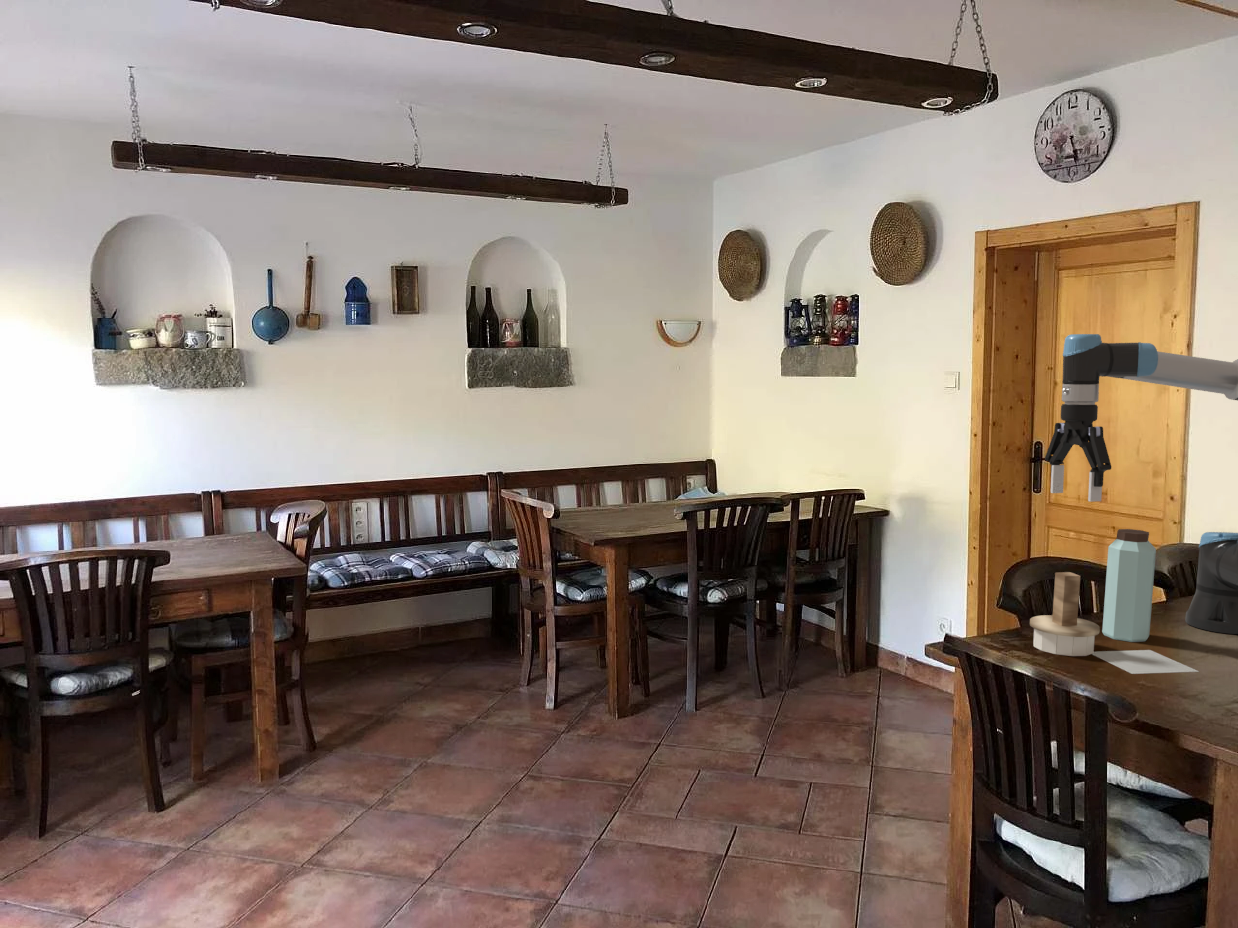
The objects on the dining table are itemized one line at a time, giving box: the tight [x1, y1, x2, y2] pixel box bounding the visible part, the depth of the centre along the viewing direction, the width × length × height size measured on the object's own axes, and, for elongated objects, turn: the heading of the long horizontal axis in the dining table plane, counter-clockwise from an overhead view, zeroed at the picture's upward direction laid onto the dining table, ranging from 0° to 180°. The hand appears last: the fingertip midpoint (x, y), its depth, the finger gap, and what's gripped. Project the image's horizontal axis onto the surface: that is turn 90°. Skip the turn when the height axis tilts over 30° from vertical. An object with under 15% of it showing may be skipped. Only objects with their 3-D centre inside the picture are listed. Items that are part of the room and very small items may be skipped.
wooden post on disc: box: [1029, 571, 1101, 637], centre depth 219 cm, size 14×14×12 cm
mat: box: [1091, 649, 1200, 675], centre depth 211 cm, size 15×15×1 cm
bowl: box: [1033, 628, 1096, 657], centre depth 220 cm, size 12×12×5 cm
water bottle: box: [1101, 528, 1157, 643], centre depth 229 cm, size 10×10×25 cm
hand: (1075, 497), depth 228 cm, fingers open, 13 cm apart
